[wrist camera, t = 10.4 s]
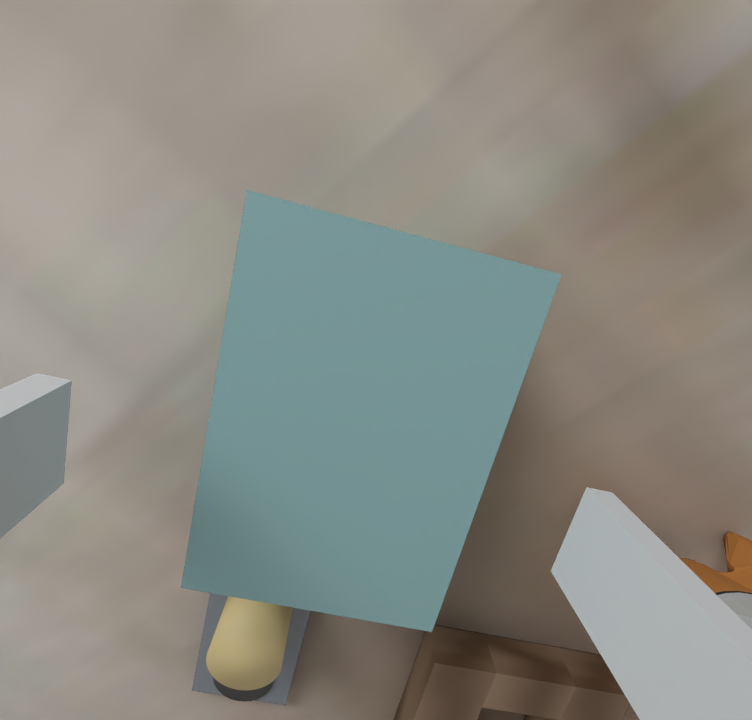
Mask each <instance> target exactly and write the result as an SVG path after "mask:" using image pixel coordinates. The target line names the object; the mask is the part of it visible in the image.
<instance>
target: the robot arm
mask: <svg viewBox="0 0 752 720" xmlns="http://www.w3.org/2000/svg"><path fill="white" fill-rule="evenodd" d="M71 384H72V380H68V379H63V378H58V377H53V376H48V375H43V374H39V373H36V374H33V375H31V376H29V377H27V378H24V379H22V380H20V381H18V382H15V383H13V384H11V385H9V386H6V387H4V388H2V389H0V538H1V537H2V536H4V535H5V534H6V533H7V532H8V531H9V530H10V529H12V528H13V527H14V526H15V525H16V524H17V523H18V522H20V521H21V520H22V519H23V518H24V517H25V516H27V515H28V514H29V513H30V512H31V511H32V510H33V509H35V508H36V507H37V506H38V505H39V504H40V503H41V502H43V501H44V500H45V499H46V498H47V497H48V496H49V495H51V494H52V493H53V492H54V491H55V490H56V489H58V488H59V487H60V486H61V485H62V484H63V483H64V471H65V458H66V446H67V434H68V421H69V409H70V396H71ZM551 572H552V574H553V576H554V577H555V579H556V581H557V582H558V584H559V586H560V587H561V589H562V591H563V592H564V594H565V596H566V597H567V599H568V601H569V602H570V604H571V606H572V607H573V609H574V611H575V612H576V614H577V616H578V617H579V619H580V621H581V622H582V624H583V626H584V627H585V629H586V631H587V632H588V634H589V636H590V638H591V639H592V641H593V643H594V644H595V646H596V648H597V649H598V651H599V653H600V654H601V656H602V658H603V659H604V661H605V663H606V664H607V666H608V668H609V669H610V671H611V673H612V674H613V676H614V678H615V679H616V681H617V683H618V684H619V686H620V688H621V689H622V691H623V693H624V694H625V696H626V698H627V699H628V701H629V703H630V704H631V706H632V708H633V709H634V711H635V713H636V714H637V716H638V718H639V719H640V720H752V629H751V628H750V627H749V626H748V625H747V624H746V623H745V622H744V621H743V620H742V619H741V618H740V617H739V616H737V615H736V614H735V613H734V612H733V611H732V610H731V609H730V608H729V607H728V606H727V605H726V604H725V603H724V602H723V601H722V600H721V599H720V598H719V597H718V596H717V595H716V594H715V593H714V592H713V591H712V590H711V589H710V588H709V587H708V586H707V585H706V584H705V583H704V582H703V581H702V580H701V579H700V578H699V577H698V576H697V575H696V574H695V573H694V572H693V571H692V570H691V569H690V568H689V567H688V566H687V565H686V564H685V563H684V562H682V561H681V560H680V559H679V558H678V557H677V556H676V555H675V554H674V553H673V552H672V551H671V550H670V549H669V548H668V547H667V546H666V545H665V544H664V543H663V542H662V541H661V540H660V539H659V538H658V537H657V536H656V535H655V534H654V533H653V532H652V531H651V530H650V529H649V528H648V527H647V526H646V525H645V524H644V523H643V522H642V521H641V520H640V519H639V518H638V517H637V516H636V515H635V514H634V513H633V512H632V511H631V510H630V509H629V508H627V507H626V506H625V505H624V504H623V503H622V502H621V501H620V500H619V499H618V498H617V497H616V496H615V495H614V494H613V493H612V492H607V491H602V490H598V489H593V488H588V487H586V490H585V492H584V494H583V497H582V499H581V501H580V504H579V506H578V508H577V511H576V513H575V515H574V518H573V520H572V522H571V525H570V527H569V529H568V532H567V534H566V536H565V539H564V541H563V543H562V546H561V548H560V550H559V553H558V555H557V557H556V560H555V562H554V564H553V567H552V569H551Z"/></svg>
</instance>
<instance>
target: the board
mask: <svg viewBox="0 0 752 720" xmlns="http://www.w3.org/2000/svg"><path fill="white" fill-rule="evenodd" d="M629 705H630V703H629V701H628V699H627V698H626V696H625V694H624V693H623V691H622V689H621V688H620V686H619V684H618V683H617V681H616V679H615V678H614V676H613V674H612V673H611V671H610V669H609V668H608V666H607V664H606V663H605V661H604V659H603V658H602V656H601V655H598V654H592V653H586V652H581V651H575V650H570V649H564V648H559V647H553V646H547V645H542V644H536V643H531V642H525V641H520V640H514V639H508V638H503V637H497V636H492V635H486V634H481V633H475V632H469V631H464V630H458V629H453V628H447V627H442V626H436V625H434V628H433V630H432V632H428V631H426V632H425V634H424V637H423V640H422V643H421V645H420V648H419V651H418V654H417V657H416V659H415V662H414V665H413V668H412V670H411V673H410V676H409V679H408V682H407V684H406V687H405V690H404V693H403V695H402V698H401V701H400V704H399V707H398V709H397V712H396V715H395V718H394V720H477V718H478V716H479V714H480V711H481V709H482V708H488V709H494V710H500V711H506V712H513V713H519V714H525V715H526V716H525V718H524V720H622V718H623V716H624V715H625V713H626V711H627V709H628V707H629Z"/></svg>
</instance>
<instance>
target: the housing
mask: <svg viewBox="0 0 752 720" xmlns="http://www.w3.org/2000/svg"><path fill="white" fill-rule="evenodd" d="M561 275H562V274H558V273H554V272H551V271H547V270H543V269H539V268H536V267H532V266H528V265H524V264H521V263H517V262H513V261H509V260H506V259H502V258H498V257H495V256H491V255H487V254H483V253H480V252H476V251H472V250H468V249H465V248H461V247H457V246H454V245H450V244H446V243H442V242H439V241H435V240H431V239H427V238H424V237H420V236H416V235H412V234H409V233H405V232H401V231H398V230H394V229H390V228H386V227H383V226H379V225H375V224H371V223H368V222H364V221H360V220H356V219H353V218H349V217H345V216H342V215H338V214H334V213H330V212H327V211H323V210H319V209H315V208H312V207H308V206H304V205H300V204H297V203H293V202H289V201H286V200H282V199H278V198H274V197H271V196H267V195H263V194H259V193H256V192H252V191H248V190H247V191H246V197H245V203H244V209H243V215H242V221H241V227H240V233H239V239H238V246H237V252H236V258H235V264H234V270H233V276H232V282H231V288H230V294H229V300H228V306H227V312H226V318H225V324H224V330H223V336H222V342H221V348H220V354H219V360H218V366H217V372H216V378H215V385H214V391H213V397H212V403H211V409H210V415H209V421H208V427H207V433H206V439H205V445H204V451H203V457H202V463H201V469H200V475H199V481H198V487H197V493H196V499H195V505H194V511H193V517H192V524H191V530H190V536H189V542H188V548H187V554H186V560H185V566H184V572H183V578H182V584H181V588H185V589H191V590H196V591H202V592H208V593H213V594H219V595H225V596H230V597H236V598H242V599H247V600H253V601H259V602H264V603H270V604H276V605H281V606H287V607H293V608H298V609H304V610H310V611H315V612H321V613H327V614H332V615H338V616H344V617H349V618H355V619H361V620H366V621H372V622H378V623H383V624H389V625H395V626H400V627H406V628H412V629H417V630H423V631H428V632H432V630H433V628H434V625H435V622H436V619H437V617H438V614H439V611H440V608H441V606H442V603H443V600H444V597H445V595H446V592H447V589H448V586H449V583H450V581H451V578H452V575H453V572H454V570H455V567H456V564H457V561H458V559H459V556H460V553H461V550H462V548H463V545H464V542H465V539H466V537H467V534H468V531H469V528H470V526H471V523H472V520H473V517H474V515H475V512H476V509H477V506H478V503H479V501H480V498H481V495H482V492H483V490H484V487H485V484H486V481H487V479H488V476H489V473H490V470H491V468H492V465H493V462H494V459H495V457H496V454H497V451H498V448H499V446H500V443H501V440H502V437H503V435H504V432H505V429H506V426H507V423H508V421H509V418H510V415H511V412H512V410H513V407H514V404H515V401H516V399H517V396H518V393H519V390H520V388H521V385H522V382H523V379H524V377H525V374H526V371H527V368H528V366H529V363H530V360H531V357H532V355H533V352H534V349H535V346H536V343H537V341H538V338H539V335H540V332H541V330H542V327H543V324H544V321H545V319H546V316H547V313H548V310H549V308H550V305H551V302H552V299H553V297H554V294H555V291H556V288H557V286H558V283H559V280H560V277H561Z"/></svg>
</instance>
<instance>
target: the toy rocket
mask: <svg viewBox="0 0 752 720" xmlns="http://www.w3.org/2000/svg"><path fill="white" fill-rule="evenodd" d="M724 544H725V552H726V560H727V568H728V572H727V573H723V572H717V571H715V570H713V569H711V568H709V567H708V566H706V565H704V564H701V563H698V562H696V561H693V560H690V559H684V558H679V559H680V560H681V561H682V562H684V563H685V564H686V565H687V566H688V567H689V568H690V569H691V570H692V571H693V572H694V573H695V574H696V575H697V576H698V577H699V578H700V579H701V580H702V581H703V582H704V583H705V584H706V585H707V586H708V587H709V588H710V589H711V590H712V591H713V592H714V593H715V594H716V595H717V596H718V597H719V598H720V599H721V600H722V601H723V602H724V603H725V604H726V605H727V606H728V607H729V608H730V609H731V610H732V611H733V612H734V613H735V614H736V615H737V616H739V617H740V618H741V619H742V620H743V621H744V622H745V623H746V624H747V625H748V626H749V627H750V628H751V629H752V541H750V540H749V539H746V538H744V537H742V536H739V535H737V534H735V533H733V532H728V533H727V534H726V535H725V536H724Z"/></svg>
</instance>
